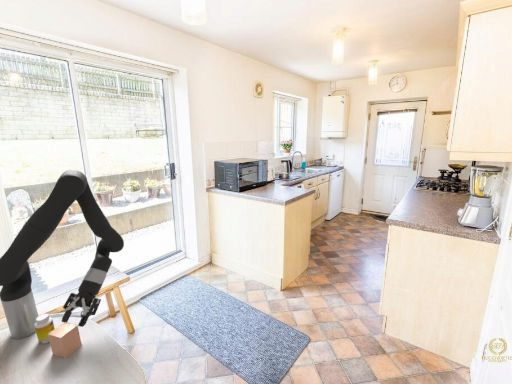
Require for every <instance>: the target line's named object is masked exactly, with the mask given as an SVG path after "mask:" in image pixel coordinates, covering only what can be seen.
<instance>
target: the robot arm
mask: <svg viewBox="0 0 512 384" xmlns="http://www.w3.org/2000/svg"><path fill="white" fill-rule="evenodd" d="M75 201H76V202H77V203H78V206H79V208H80V211H82V212H81V213H82V214H83V217H84V220H85V222H86V223H87V225H88V227H89V228H90V230H91V231H92V233H93V234H94V235H95V236H96V237H97V238H100V240H99V241H98V244H97V247H96V251H95V254H94V255H95V256H94V259H93V261H92V263H91V265H90V267H89V269H88V270H87V272H86V273H85V275H84V276H83V280H82V281H81V283H80V285H79V287H78V289H77V291H78V292H77V293H74V292H71V293H70V294H69V296H68V297H67V299H66V301H65V302H64V305H63V306H62V308H63V309H64V310H65V312H64V314H63V316H62V318H61V323H64V322H69V319H70V318H71V315H72V313H73V311H74V310H76V309H78V308H81V309H82V310H83V315H82V316H81V319H80V320H79V322H78V324H77V325H78V327H82V328H83V327H84V326H85V325H86V324H87V322H88V320H89V318H90V317H91V316H95V315H96V313H97V311H98V308H99V306H100V304H101V301H102V299H101V298H97V297H96V296H98V294H99V293H100V290H101V288H102V286H103V284H104V282H105V280H106V277H107V273H109V270H110V268H111V266H112V263H113V260H112V258H110V254H111V253H119V252H121V251H122V250H123V248H124V247H125V246H124V245H125V241H124V239H123V237H122V235H120V233H119V232H118V231H117V230H116V229H115V228H114V227H112V226H111V223H110V222H109V220H108V219H107V217H106V216H105V215H106V214H104V212H103V210H102V209H101V207H100V205H99V204H98V202H97V200H96V199H95V196H94V194H93V192H92V190H91V187H90V183H89V182H88V179H87V176H86V174H84V173H83V172H82V171H80V170H78V169H67V170H65V171H64V172H62V174H61V175H60V176H59V178H58V179H57V180H56V183H55V186H54V187H53V188H52V191H51V192H50V194H49V196H48V197H47V199H46V200H45V202H44V203H42V204H41V205H40V206H39V207H38V208H37V209H36V210H35V211H34V212H33V213H32V214H31V215H30V217H29V218H28V219H27V220H26V222H25V223H24V224H23V226H22V227H21V229H20V231H19V232H18V233H17V235H16V236H15V238H14V239H13V241H12V243H11V244H10V245H9V247H8V249H7V250H6V251H5V253H3V255H1V257H0V287H1V289H0V302H1V304H2V308H3V313H4V315H5V318H6V322H7V326H8V330H9V332H10V337H11V338H12V339H15V340H16V339H17V340H19V339H23V338H26V337H29V336H30V335H33V334H34V333H36V330H35V327H34V325H35V323H36V318H37V317H38V316H39V313H38V309H37V305H36V301H35V298H34V293H33V290H32V289H33V288H32V282H33V281H32V280H33V278H32V272H31V268H30V263H29V259H30V258H31V257H32V255H34V254H35V253H36V252H37V250H39V249H40V248H41V247H42V246H43V245H44V244H45V243H46V242H47V241H48V239H49V238H50V237H51V236H52V235H53V233H54V232H55V231H56V229H57V228H58V226H59V225H60V223H61V221H62V220H63V218H64V216H65V214H66V212H67V211H68V209H70V207H71V206H72V204H73V203H74V202H75Z"/></svg>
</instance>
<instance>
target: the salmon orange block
mask: <svg viewBox="0 0 512 384" xmlns="http://www.w3.org/2000/svg"><path fill="white" fill-rule="evenodd" d="M48 337H49V345H50V348H51V349H50V350H51V353H52V355H54V356H57V357H59V358H63V357H64V359H66V357H67V356H68V355H69V356H70V355H72V353H74V352H75V351H76V350H77V349H78V348H80V347H81V346H82V345H83V344H82V339H81V335H80V329H79V326H78V324H76V323H71V322H69V321H67V322H62V323H61V324H59V325H58V326H57V327H56V328H55V329H54V330H53V331H51V332H50V333H49V334H48ZM69 356H68V357H69ZM68 357H67V358H68Z"/></svg>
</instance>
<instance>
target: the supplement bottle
mask: <svg viewBox="0 0 512 384" xmlns="http://www.w3.org/2000/svg"><path fill="white" fill-rule="evenodd" d="M34 327H35V330H36V331H35V333H36V337H37V341H38V343H39V344H47V343H50V341H49V337H48V334H49V333H50V332H51V331H53V330H54V329H56V328H55V323H54V321H53V318H52V317H51V316H50V315H49V313H43V314H40V315H38V317H37V318H36V323H35V325H34Z"/></svg>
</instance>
